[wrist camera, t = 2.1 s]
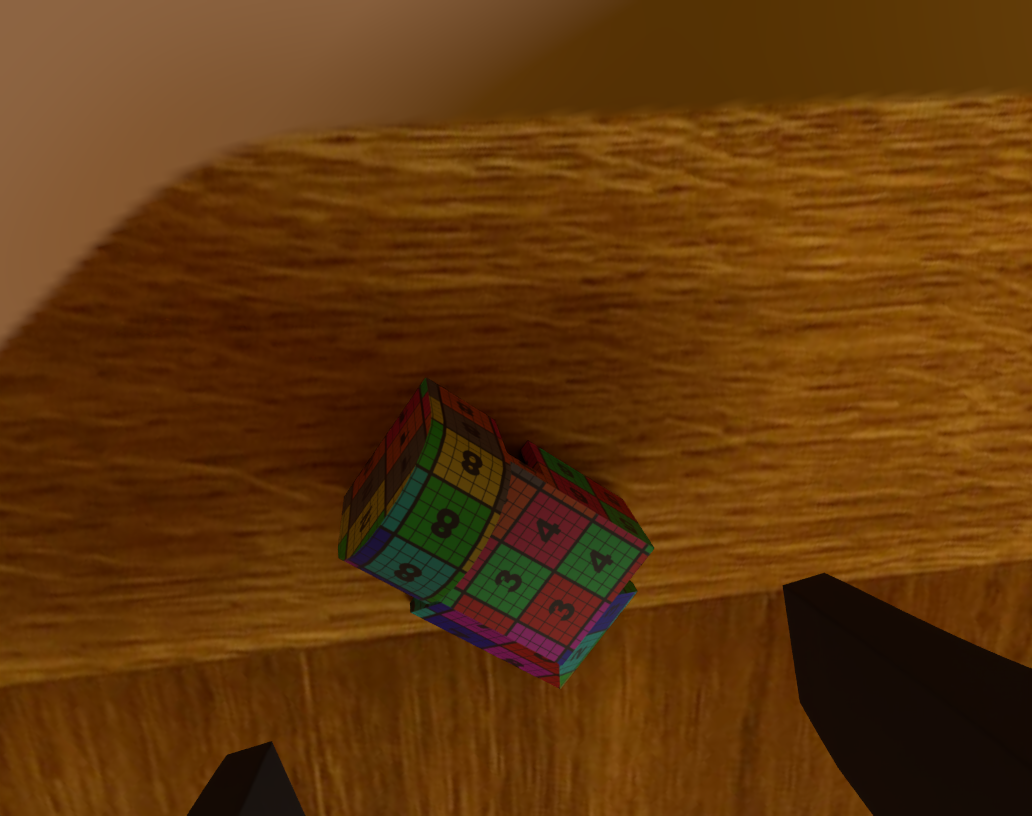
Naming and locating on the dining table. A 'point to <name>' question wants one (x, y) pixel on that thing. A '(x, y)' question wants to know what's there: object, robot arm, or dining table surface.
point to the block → (492, 537)
